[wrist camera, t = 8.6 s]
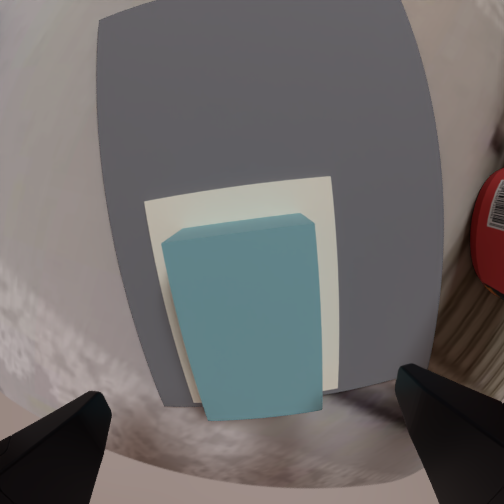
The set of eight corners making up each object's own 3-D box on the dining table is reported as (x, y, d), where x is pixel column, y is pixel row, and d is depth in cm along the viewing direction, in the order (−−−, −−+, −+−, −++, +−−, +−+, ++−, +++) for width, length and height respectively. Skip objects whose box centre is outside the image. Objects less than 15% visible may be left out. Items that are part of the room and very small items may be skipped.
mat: (394, -4, 10) (398, -9, 9) (424, 364, 15) (428, 370, 14) (102, 23, 10) (97, 18, 10) (166, 400, 15) (163, 408, 15)
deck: (311, 370, 14) (322, 409, 11) (215, 380, 14) (208, 420, 11) (300, 212, 12) (314, 223, 9) (182, 228, 12) (161, 243, 9)
